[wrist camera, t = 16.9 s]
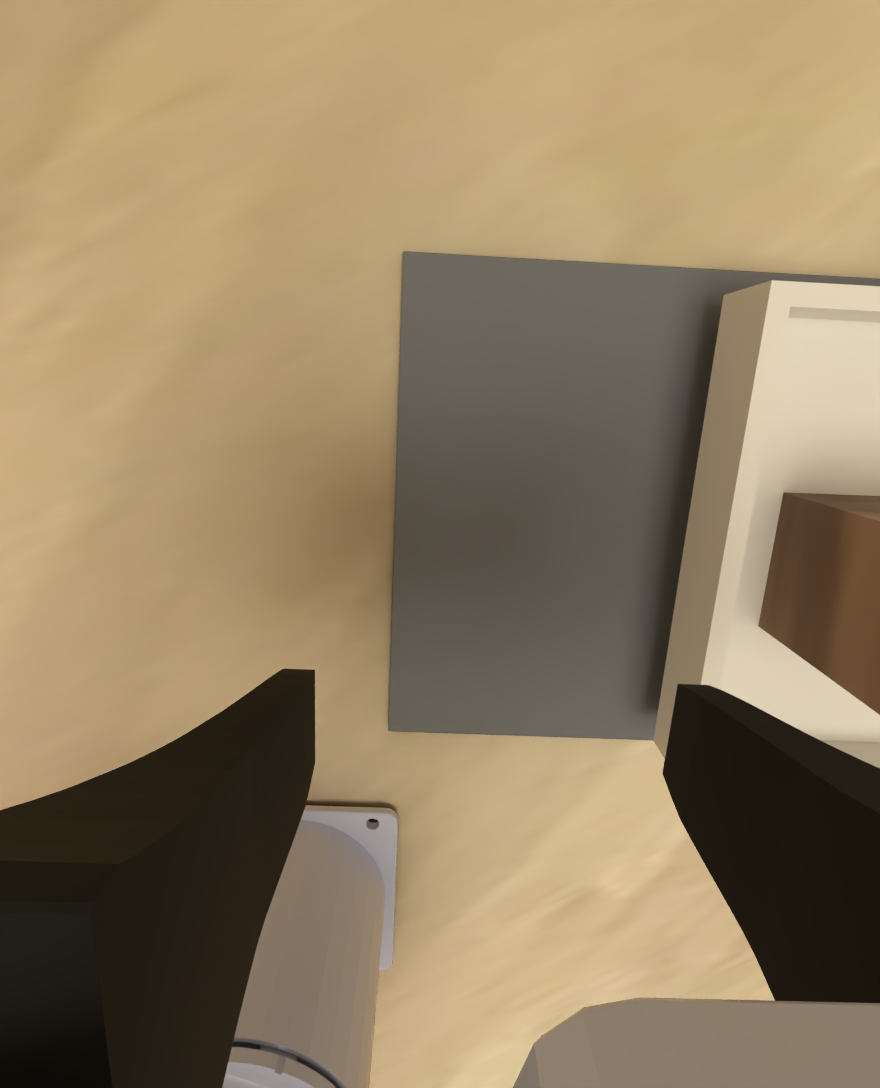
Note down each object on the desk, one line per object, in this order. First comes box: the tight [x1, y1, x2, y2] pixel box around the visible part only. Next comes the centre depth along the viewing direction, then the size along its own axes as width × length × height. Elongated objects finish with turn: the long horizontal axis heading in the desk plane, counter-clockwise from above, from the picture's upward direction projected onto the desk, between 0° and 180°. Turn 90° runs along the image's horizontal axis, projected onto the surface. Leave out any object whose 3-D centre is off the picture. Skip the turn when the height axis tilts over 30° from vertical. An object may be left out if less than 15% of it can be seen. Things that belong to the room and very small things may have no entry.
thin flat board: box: [388, 252, 880, 740], centre depth 21 cm, size 23×17×2 cm
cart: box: [653, 280, 880, 768], centre depth 19 cm, size 10×15×4 cm, turn 177°
